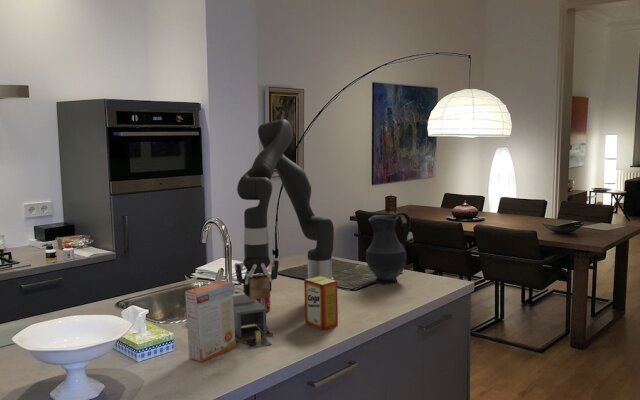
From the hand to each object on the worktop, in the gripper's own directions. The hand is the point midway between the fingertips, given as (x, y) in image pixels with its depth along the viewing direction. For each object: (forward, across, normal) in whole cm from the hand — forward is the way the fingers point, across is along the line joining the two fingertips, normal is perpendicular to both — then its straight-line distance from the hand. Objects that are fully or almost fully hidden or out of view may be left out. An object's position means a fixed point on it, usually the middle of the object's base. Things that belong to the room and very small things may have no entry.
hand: (257, 294), depth 185 cm
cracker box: (+16, +15, +2) cm, 22 cm away
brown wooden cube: (+1, 0, 0) cm, 1 cm away
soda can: (+16, -11, -31) cm, 37 cm away
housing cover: (+16, 0, -11) cm, 20 cm away
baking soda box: (+16, -25, -7) cm, 30 cm away
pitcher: (+15, -74, -45) cm, 88 cm away
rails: (+16, 0, -11) cm, 20 cm away
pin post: (+16, 0, 0) cm, 16 cm away
